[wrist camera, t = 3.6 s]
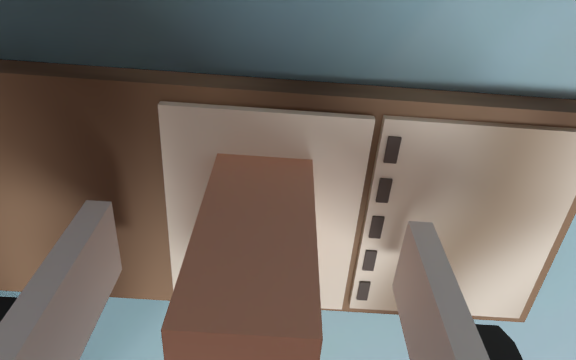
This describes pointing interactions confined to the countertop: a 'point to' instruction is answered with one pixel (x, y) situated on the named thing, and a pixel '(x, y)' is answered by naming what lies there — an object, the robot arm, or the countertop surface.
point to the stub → (258, 226)
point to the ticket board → (304, 97)
